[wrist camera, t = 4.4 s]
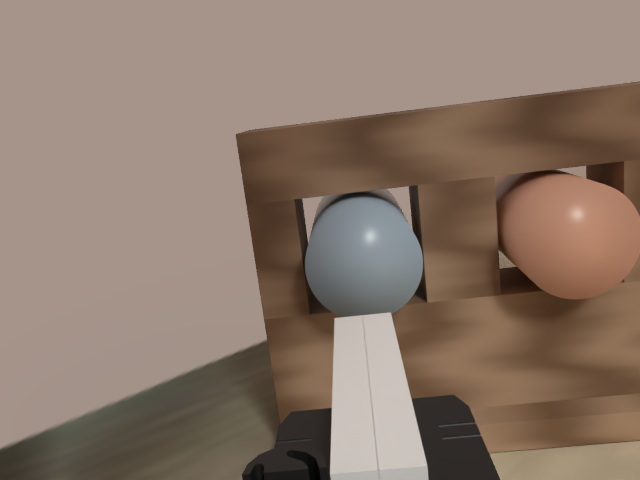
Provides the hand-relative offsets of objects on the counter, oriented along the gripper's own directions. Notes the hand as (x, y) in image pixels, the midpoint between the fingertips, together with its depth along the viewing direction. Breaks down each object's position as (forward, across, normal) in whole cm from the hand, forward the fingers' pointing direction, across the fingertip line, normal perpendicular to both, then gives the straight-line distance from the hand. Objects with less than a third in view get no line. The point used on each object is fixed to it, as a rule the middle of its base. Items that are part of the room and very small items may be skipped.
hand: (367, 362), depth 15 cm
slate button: (+14, 0, -2) cm, 14 cm away
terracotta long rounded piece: (+14, +9, -2) cm, 17 cm away
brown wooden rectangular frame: (+13, +9, -10) cm, 19 cm away
